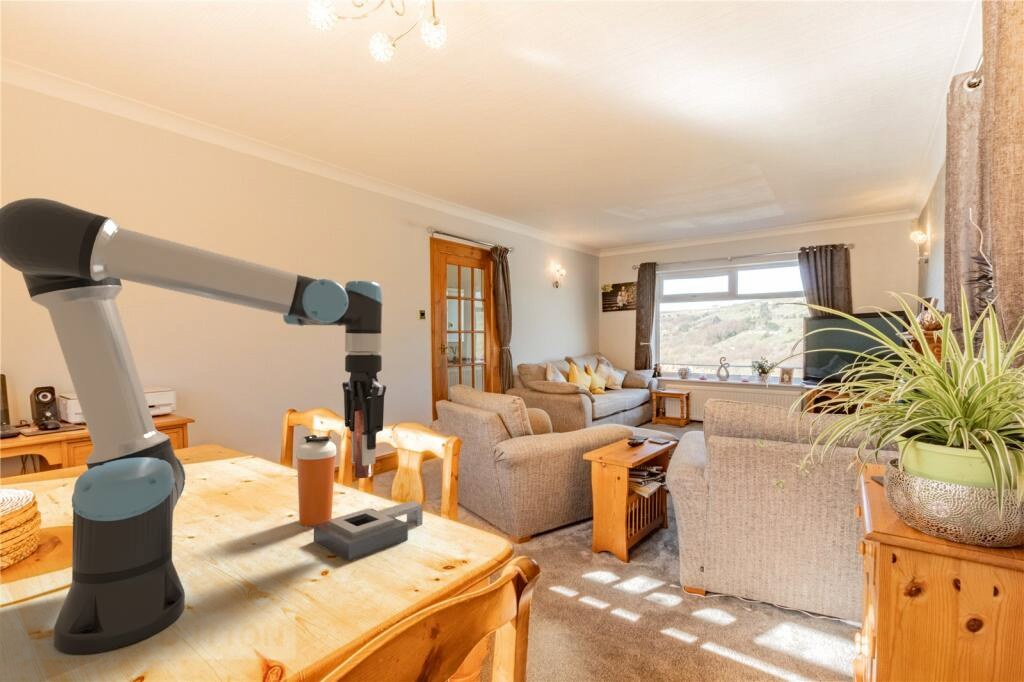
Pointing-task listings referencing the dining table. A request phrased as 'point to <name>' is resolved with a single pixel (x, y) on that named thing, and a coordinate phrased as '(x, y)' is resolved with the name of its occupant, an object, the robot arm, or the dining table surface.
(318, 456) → the shaker bottle
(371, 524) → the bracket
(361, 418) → the copper cylinder
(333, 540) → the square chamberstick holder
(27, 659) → the dining table surface
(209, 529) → the dining table surface
